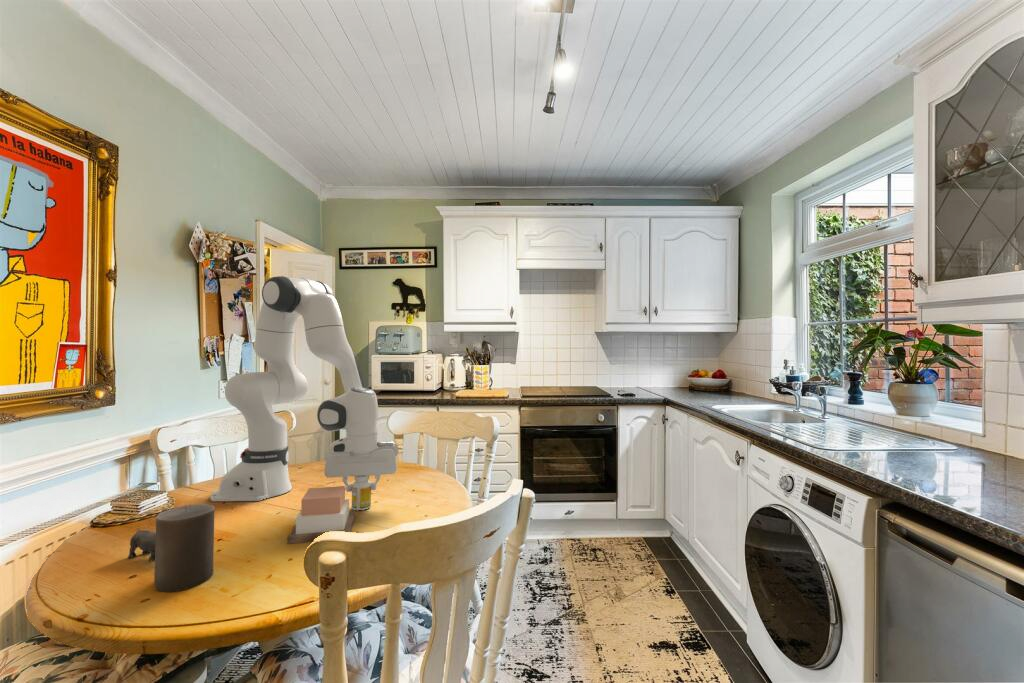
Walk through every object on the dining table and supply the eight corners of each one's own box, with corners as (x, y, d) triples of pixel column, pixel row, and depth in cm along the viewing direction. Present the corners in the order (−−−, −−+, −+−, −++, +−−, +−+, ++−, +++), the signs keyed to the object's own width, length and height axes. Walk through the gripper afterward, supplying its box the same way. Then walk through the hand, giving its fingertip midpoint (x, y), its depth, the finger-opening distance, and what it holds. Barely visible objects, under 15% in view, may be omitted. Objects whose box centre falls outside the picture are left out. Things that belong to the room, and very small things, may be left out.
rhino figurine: (175, 565, 96) (176, 537, 96) (123, 559, 98) (123, 532, 98) (192, 556, 100) (192, 529, 100) (141, 551, 102) (142, 525, 102)
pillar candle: (200, 589, 86) (202, 511, 87) (142, 595, 84) (144, 515, 85) (221, 566, 96) (223, 496, 96) (170, 570, 94) (172, 498, 94)
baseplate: (287, 543, 107) (287, 537, 107) (300, 521, 120) (300, 515, 120) (349, 538, 110) (349, 532, 110) (355, 517, 123) (355, 511, 123)
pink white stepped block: (295, 534, 108) (296, 501, 108) (305, 517, 119) (305, 487, 119) (343, 530, 111) (344, 497, 111) (348, 514, 122) (349, 484, 122)
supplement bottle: (348, 511, 128) (349, 477, 128) (355, 504, 133) (355, 472, 133) (367, 511, 128) (367, 477, 128) (373, 504, 133) (373, 472, 133)
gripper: (398, 439, 136) (398, 484, 136) (327, 442, 131) (326, 489, 131) (398, 443, 130) (397, 491, 130) (323, 447, 125) (322, 496, 125)
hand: (361, 490), depth 131 cm, fingers closed on supplement bottle, 5 cm apart
